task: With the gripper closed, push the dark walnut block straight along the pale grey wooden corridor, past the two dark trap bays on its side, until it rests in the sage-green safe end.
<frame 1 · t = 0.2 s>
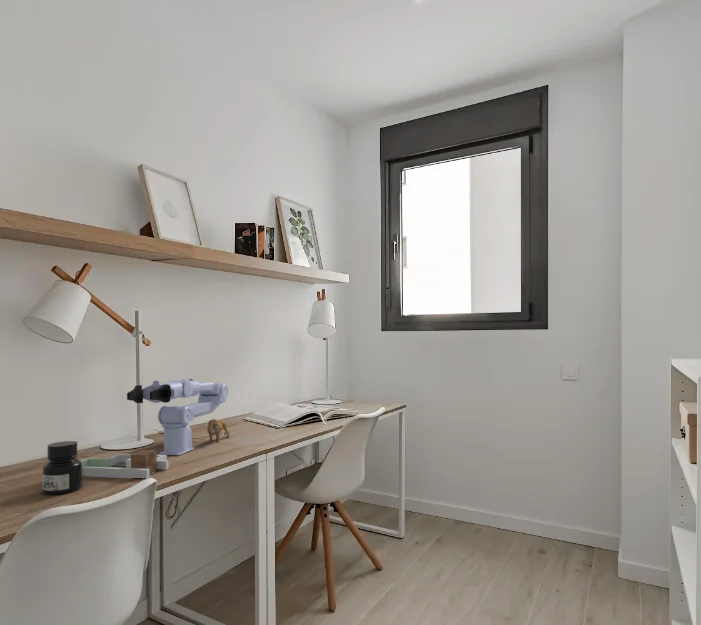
hand: (139, 396, 150), 22 cm above the table, tool horizontal, fingers open, 7 cm apart
ink bottle: (62, 490, 130), on the table
lion figurine: (218, 441, 185), on the table
walnut block: (144, 473, 143), on the table
trap box: (116, 472, 145), on the table
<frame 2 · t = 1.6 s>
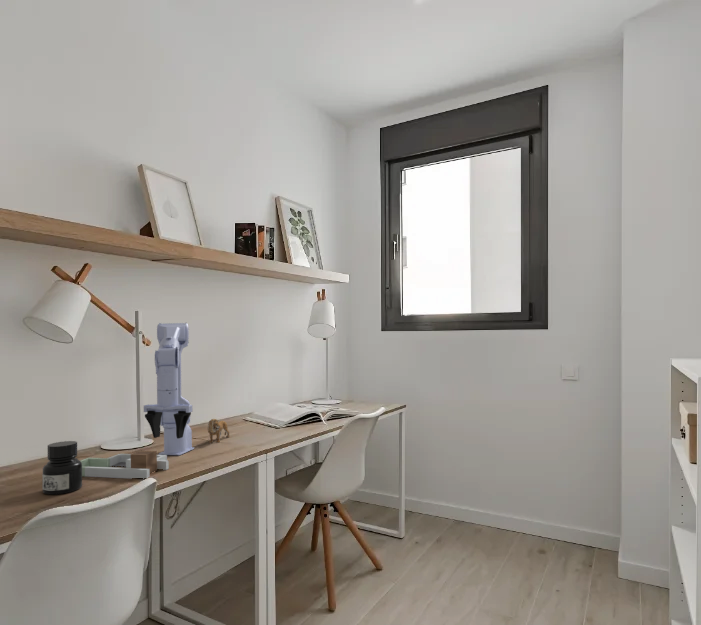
hand: (168, 437, 142), 10 cm above the table, tool pointing down, fingers open, 7 cm apart
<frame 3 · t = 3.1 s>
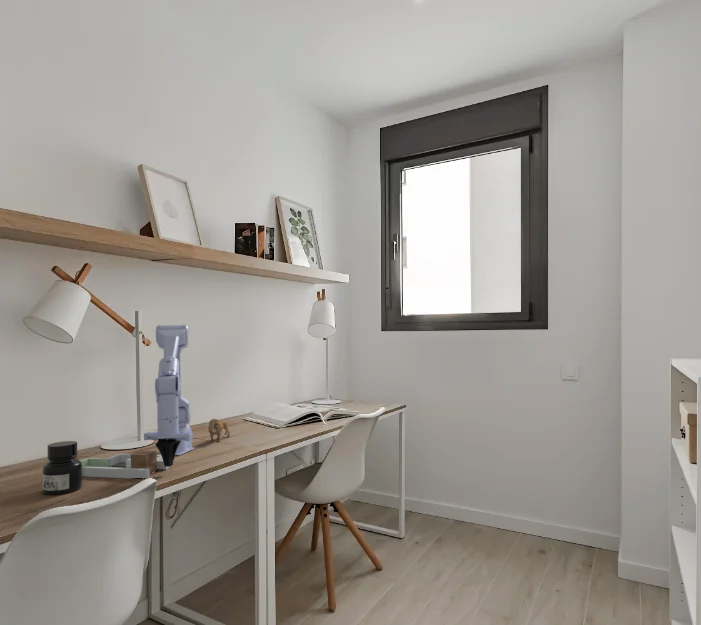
hand: (168, 465, 142), 2 cm above the table, tool pointing down, fingers closed
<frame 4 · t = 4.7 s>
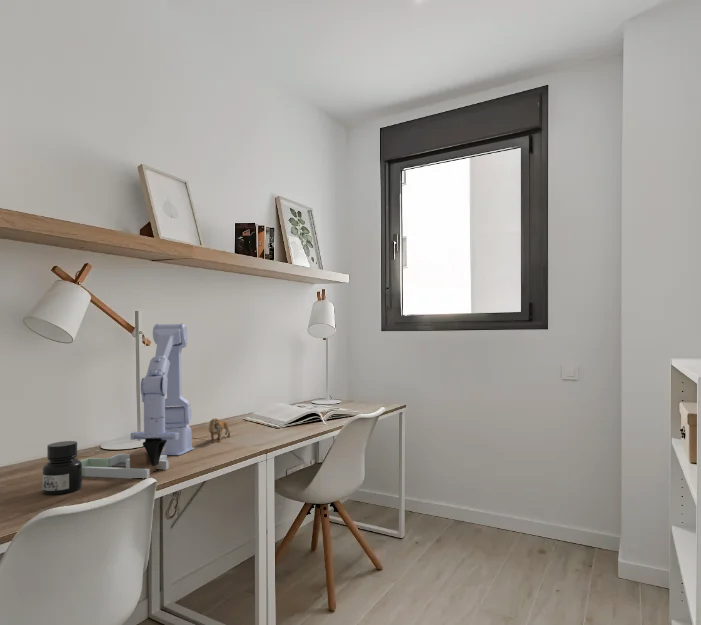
hand: (155, 465, 143), 2 cm above the table, tool pointing down, fingers closed
walnut block: (143, 473, 143), on the table, touching gripper
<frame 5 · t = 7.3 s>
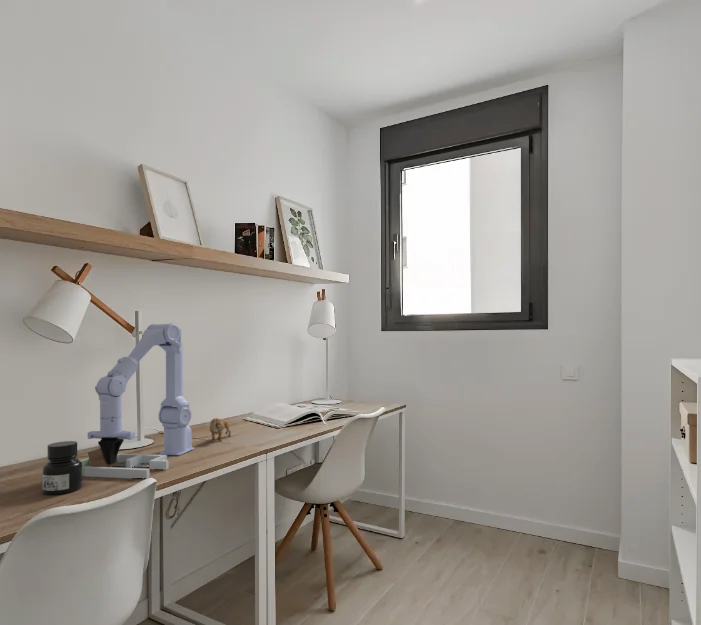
hand: (111, 463, 146), 2 cm above the table, tool pointing down, fingers closed
walnut block: (105, 468, 147), point 1 cm above the table, tilted 17°, touching gripper
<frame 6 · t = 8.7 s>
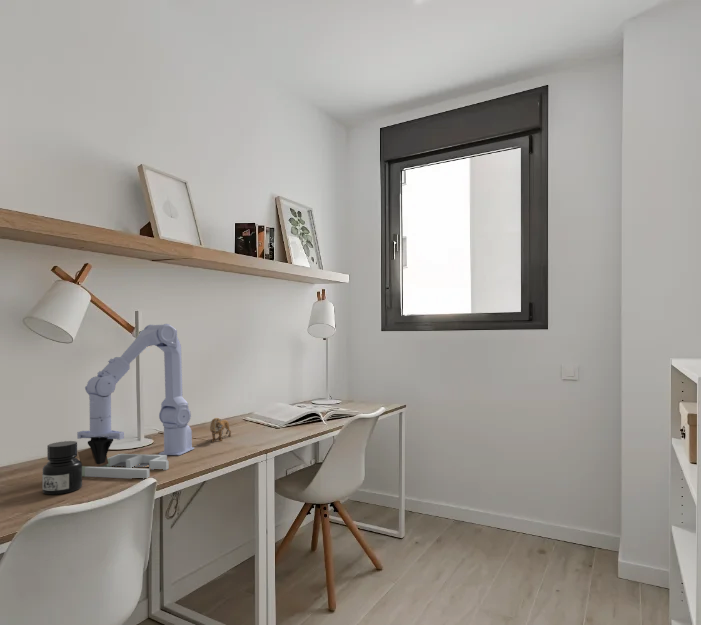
hand: (100, 463, 147), 2 cm above the table, tool pointing down, fingers closed
walnut block: (95, 467, 148), point 1 cm above the table, tilted 17°, touching gripper
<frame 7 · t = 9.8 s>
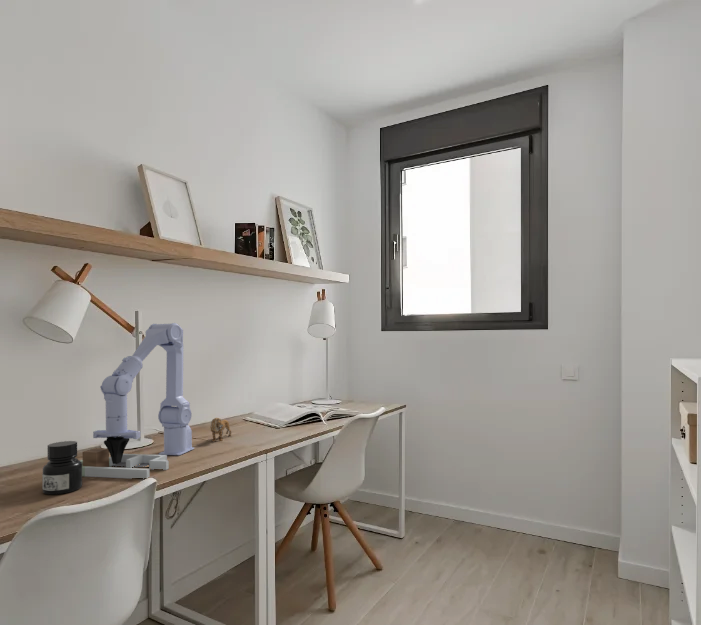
hand: (117, 462, 146), 3 cm above the table, tool pointing down, fingers closed
walnut block: (96, 470, 148), on the table
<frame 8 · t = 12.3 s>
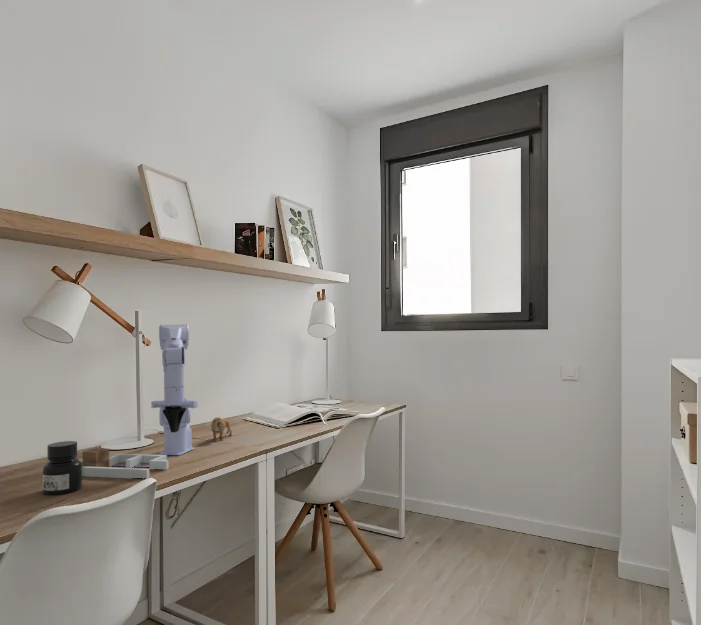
hand: (174, 431, 151), 10 cm above the table, tool pointing down, fingers closed
at the end: walnut block inside the target area (1.5 cm from its centre), on the table; walnut block tilted 0° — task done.
